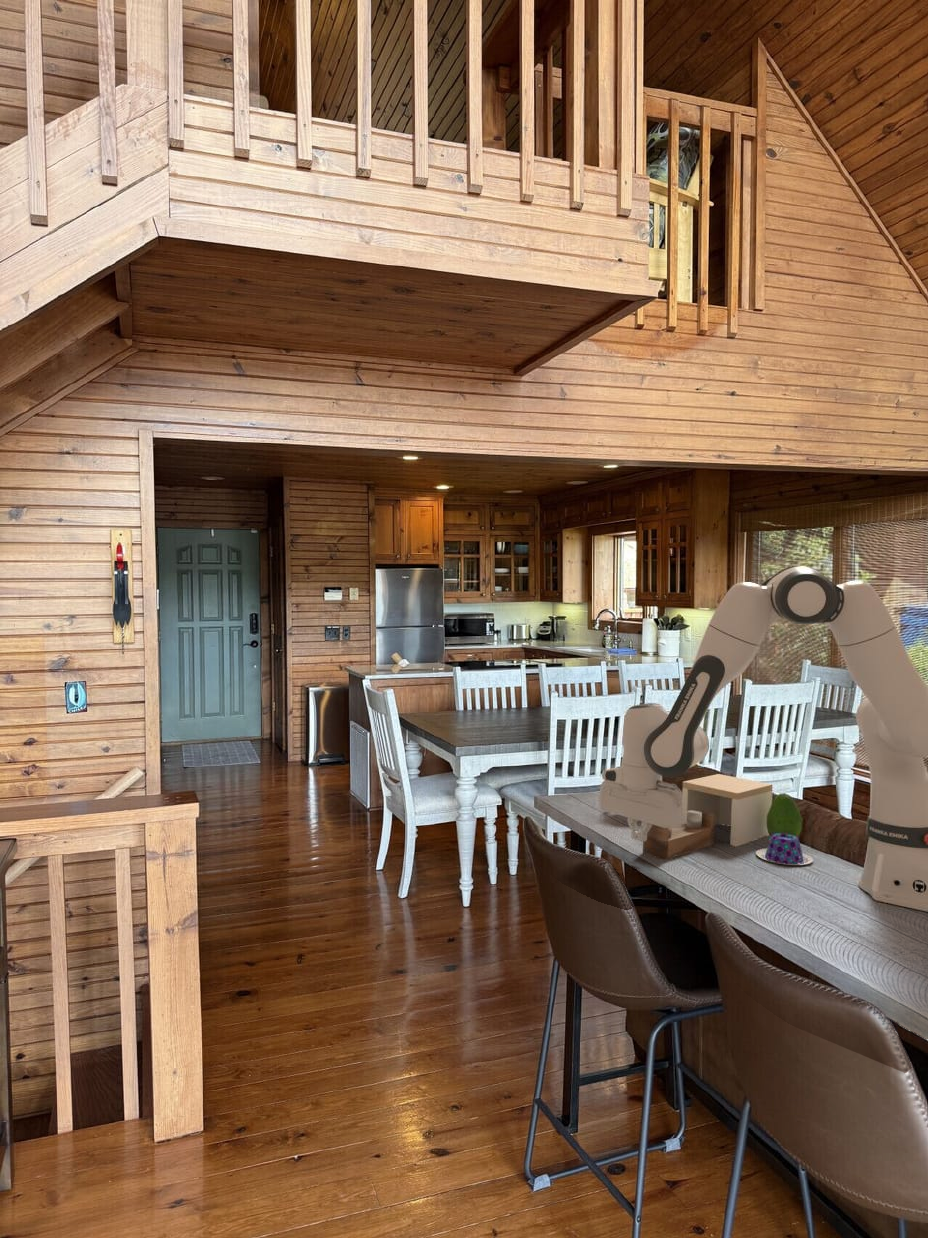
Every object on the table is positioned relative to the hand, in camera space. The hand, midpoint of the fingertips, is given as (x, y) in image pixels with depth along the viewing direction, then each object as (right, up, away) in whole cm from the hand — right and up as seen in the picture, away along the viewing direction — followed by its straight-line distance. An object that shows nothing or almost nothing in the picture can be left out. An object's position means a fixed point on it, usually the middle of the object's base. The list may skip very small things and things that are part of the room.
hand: (639, 839), depth 182 cm
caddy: (+11, -5, +10) cm, 16 cm away
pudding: (+33, -6, +4) cm, 34 cm away
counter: (+26, -5, +23) cm, 35 cm away
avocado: (+38, -5, +16) cm, 41 cm away
